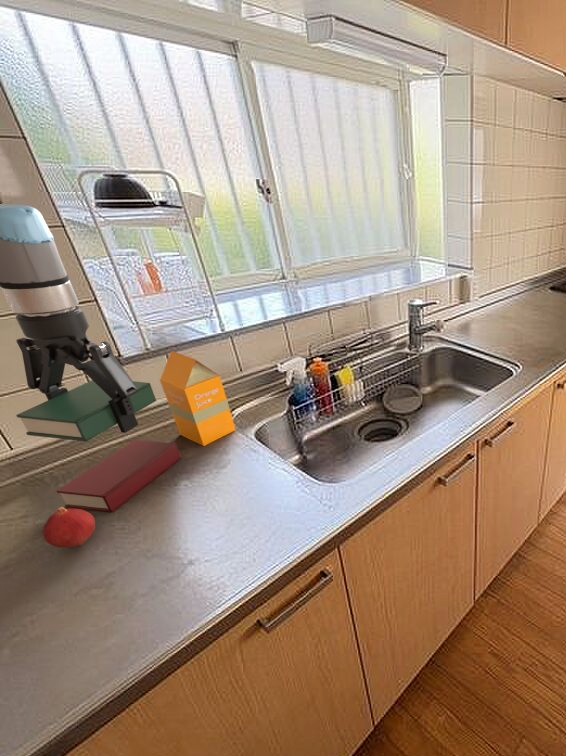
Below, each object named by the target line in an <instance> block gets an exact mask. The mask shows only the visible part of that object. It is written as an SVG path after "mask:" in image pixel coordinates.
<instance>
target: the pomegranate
mask: <svg viewBox="0 0 566 756" xmlns="http://www.w3.org/2000/svg"><path fill="white" fill-rule="evenodd" d="M95 529H96V521H95V517H94V516H93V515H92V513H90V512H88V511H87V510H85V509H75V508H66V507H64V506H61V507H58V508H57V509H56V511H55V512H54V513H53V514H51V515H50V516H49V518H48V519H47V520H46V522H45V524H44V525H43V527H42V535H43V539H44V541H45V542H46V543H47V544H48V545H51V546H53V547H57V548H72V547H79V546H82V545H83V544H84V543H85V542H86V541H87V540H88V539H89V538H90V537H91V536H92V534H93V533H94V531H95Z"/></svg>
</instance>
